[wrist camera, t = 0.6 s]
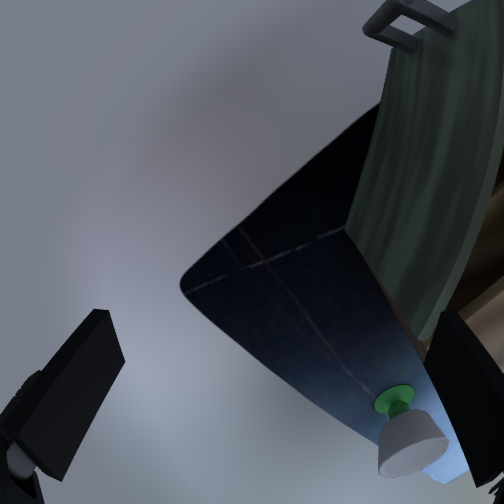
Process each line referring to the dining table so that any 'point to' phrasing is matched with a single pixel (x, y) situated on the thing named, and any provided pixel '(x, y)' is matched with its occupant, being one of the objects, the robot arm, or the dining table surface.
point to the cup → (406, 435)
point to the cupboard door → (431, 152)
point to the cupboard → (477, 283)
